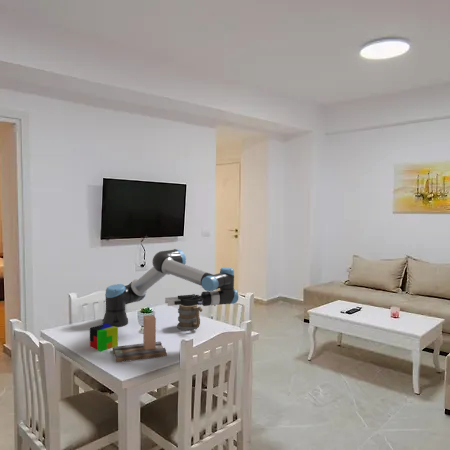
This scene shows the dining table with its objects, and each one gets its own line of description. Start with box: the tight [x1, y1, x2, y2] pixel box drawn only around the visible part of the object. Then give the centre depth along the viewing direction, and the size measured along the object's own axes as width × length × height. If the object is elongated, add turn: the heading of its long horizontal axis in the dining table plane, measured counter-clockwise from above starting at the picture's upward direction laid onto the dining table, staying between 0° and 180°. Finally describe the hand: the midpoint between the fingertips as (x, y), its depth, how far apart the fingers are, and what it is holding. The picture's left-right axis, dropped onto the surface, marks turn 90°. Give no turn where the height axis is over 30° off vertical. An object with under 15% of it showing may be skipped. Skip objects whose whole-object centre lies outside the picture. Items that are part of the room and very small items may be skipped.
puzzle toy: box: [89, 323, 119, 352], centre depth 214 cm, size 10×10×10 cm
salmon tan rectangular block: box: [142, 314, 157, 350], centre depth 207 cm, size 5×6×16 cm
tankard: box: [176, 305, 203, 331], centre depth 245 cm, size 20×13×15 cm, turn 37°
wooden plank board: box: [112, 341, 168, 363], centre depth 206 cm, size 24×16×2 cm, turn 112°
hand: (166, 301), depth 209 cm, fingers open, 4 cm apart
